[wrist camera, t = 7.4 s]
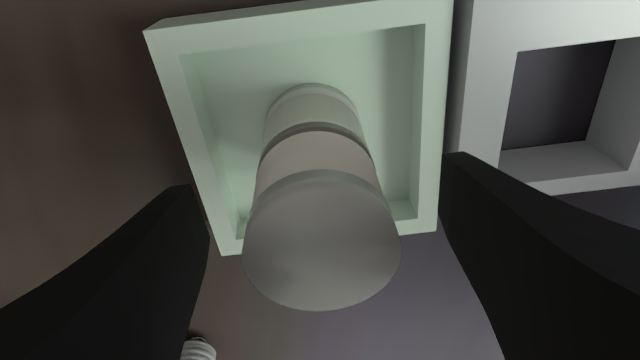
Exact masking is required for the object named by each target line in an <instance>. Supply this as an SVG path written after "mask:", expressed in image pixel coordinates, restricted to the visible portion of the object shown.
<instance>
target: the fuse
mask: <svg viewBox="0 0 640 360" xmlns="http://www.w3.org/2000/svg"><path fill="white" fill-rule="evenodd" d="M400 259H401V241H400V237H399V234H398V231H397V228H396V225H395V222H394V219H393V216H392V213H391V210H390V208H389V205H388V203H387V201H386V200H385V198H384V195H383V192H382V189H381V186H380V183H379V180H378V177H377V174H376V169H375V166H374V163H373V160H372V157H371V154H370V152H369V149H368V146H367V143H366V140H365V137H364V133H363V127H362V124H361V121H360V118H359V115H358V112H357V110H356V107H355V106H354V104H353V102H352V101H351V100H350V99H349V98H348V97H347V96H346V95H345V94H344V93H343V92H341V91H340V90H338V89H336V88H334V87H332V86H329V85H326V84H321V83H305V84H300V85H297V86H294V87H292V88H289V89H288V90H286V91H284V92H283V93H282V94H280V95H279V96H278V97H277V98H276V99H275V100H274V102H273V103H272V105H271V106H270V108H269V110H268V112H267V115H266V119H265V125H264V130H263V144H262V150H261V156H260V160H259V164H258V169H257V175H256V185H255V191H254V196H253V202H252V207H251V210H250V212H249V215H248V219H247V225H246V230H245V236H244V241H243V247H242V264H243V268H244V271H245V274H246V276H247V277H248V279H249V281H250V282H251V283H252V285H253V286H254V287H255V288H256V289H257V290H258V291H259V292H260V293H261V294H263V295H264V296H266V297H267V298H269V299H270V300H272V301H274V302H276V303H279V304H281V305H283V306H287V307H290V308H294V309H298V310H306V311H330V310H337V309H342V308H346V307H349V306H352V305H355V304H358V303H360V302H362V301H364V300H366V299H368V298H370V297H372V296H373V295H375V294H376V293H377V292H379V291H380V290H381V289H382V288H383V287H385V285H386V284H387V283H388V282H389V281H390V280H391V278H392V277H393V276H394V274H395V272H396V270H397V268H398V266H399V263H400Z"/></svg>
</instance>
